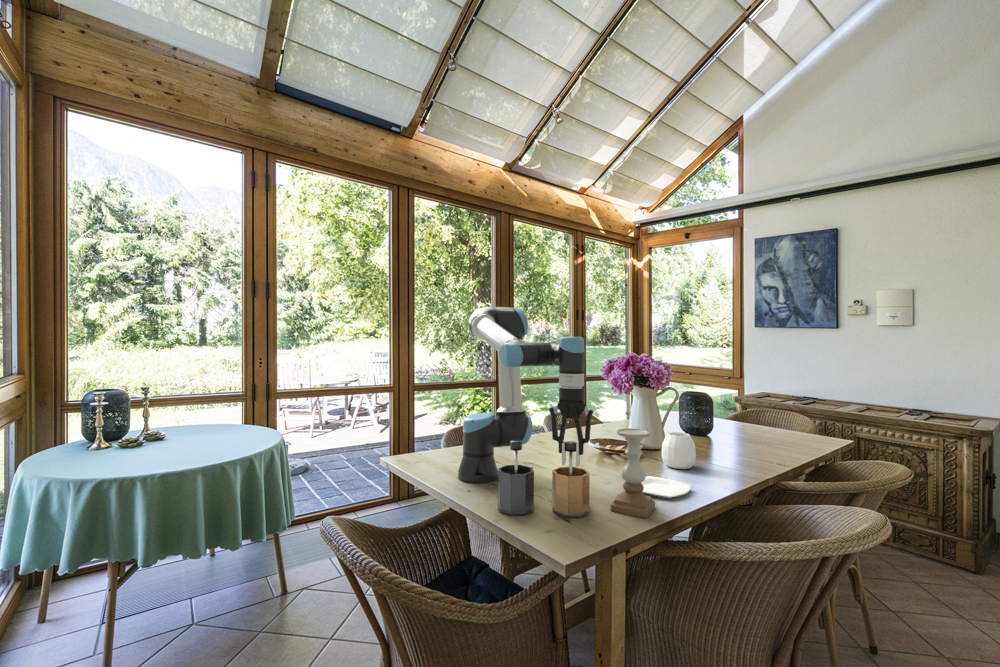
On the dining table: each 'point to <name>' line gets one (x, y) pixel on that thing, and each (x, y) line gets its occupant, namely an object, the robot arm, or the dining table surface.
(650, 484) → the plate
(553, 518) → the dining table surface
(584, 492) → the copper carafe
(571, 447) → the copper plunger
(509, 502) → the steel carafe
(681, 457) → the cup
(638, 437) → the candle holder
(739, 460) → the dining table surface
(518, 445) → the steel plunger
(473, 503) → the dining table surface
